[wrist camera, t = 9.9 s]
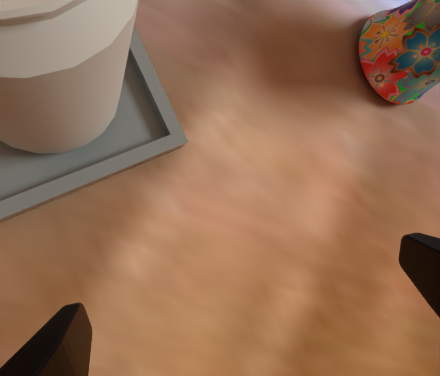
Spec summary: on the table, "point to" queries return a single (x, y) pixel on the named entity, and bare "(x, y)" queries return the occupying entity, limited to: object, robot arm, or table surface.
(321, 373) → the table surface
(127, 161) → the slate dish
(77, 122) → the can
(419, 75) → the mug
